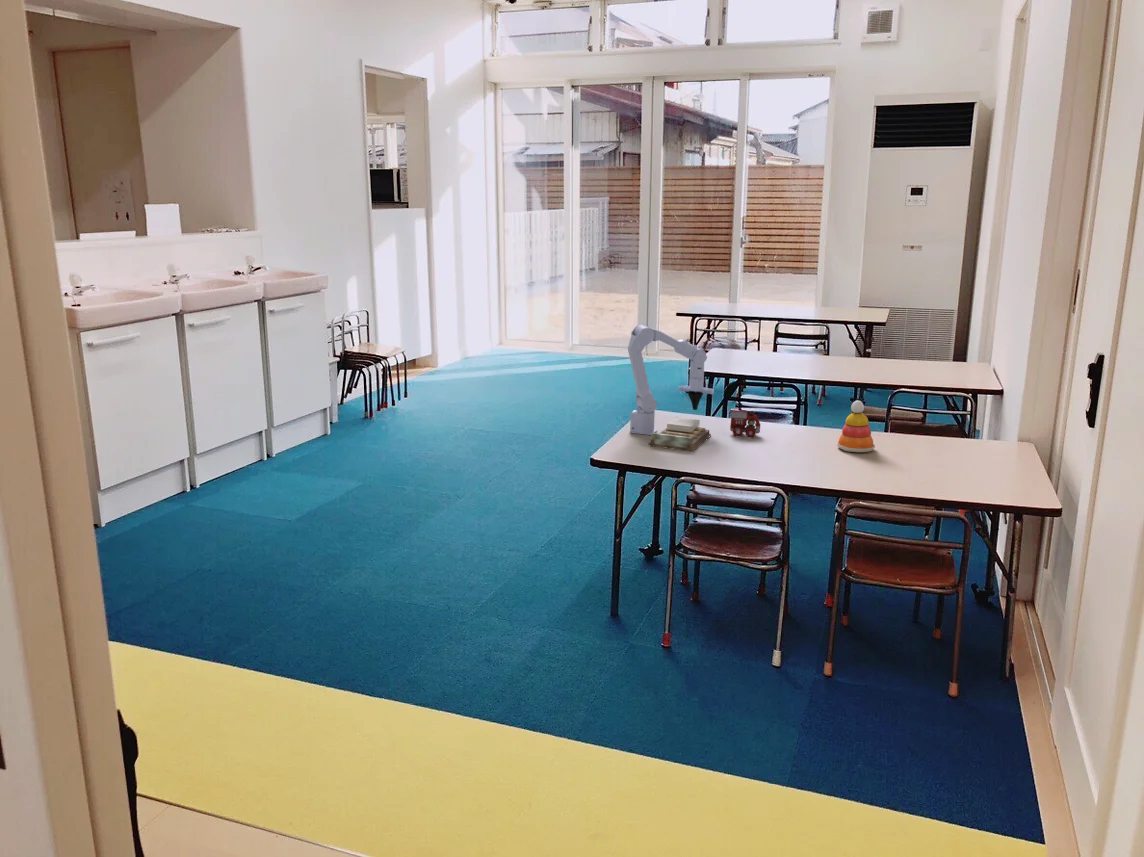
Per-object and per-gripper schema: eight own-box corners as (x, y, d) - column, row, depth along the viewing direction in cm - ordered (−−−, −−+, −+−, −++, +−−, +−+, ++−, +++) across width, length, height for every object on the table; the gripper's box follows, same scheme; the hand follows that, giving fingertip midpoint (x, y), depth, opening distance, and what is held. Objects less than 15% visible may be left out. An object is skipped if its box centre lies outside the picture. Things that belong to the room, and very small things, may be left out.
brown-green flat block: (648, 445, 349) (648, 433, 348) (668, 430, 372) (669, 419, 370) (692, 451, 342) (693, 438, 341) (710, 436, 364) (711, 424, 363)
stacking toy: (870, 445, 354) (874, 397, 349) (878, 455, 341) (883, 405, 336) (833, 443, 356) (837, 395, 351) (840, 453, 342) (844, 404, 337)
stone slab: (666, 429, 359) (667, 423, 359) (676, 422, 370) (676, 417, 369) (690, 432, 355) (691, 426, 355) (699, 425, 366) (699, 419, 365)
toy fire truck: (759, 438, 362) (761, 413, 359) (728, 436, 364) (730, 411, 361) (759, 434, 369) (761, 409, 366) (729, 432, 371) (730, 408, 368)
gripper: (716, 377, 369) (714, 409, 372) (682, 374, 374) (681, 405, 378) (711, 380, 362) (710, 412, 366) (677, 377, 368) (676, 409, 372)
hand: (695, 409), depth 371 cm, fingers closed
